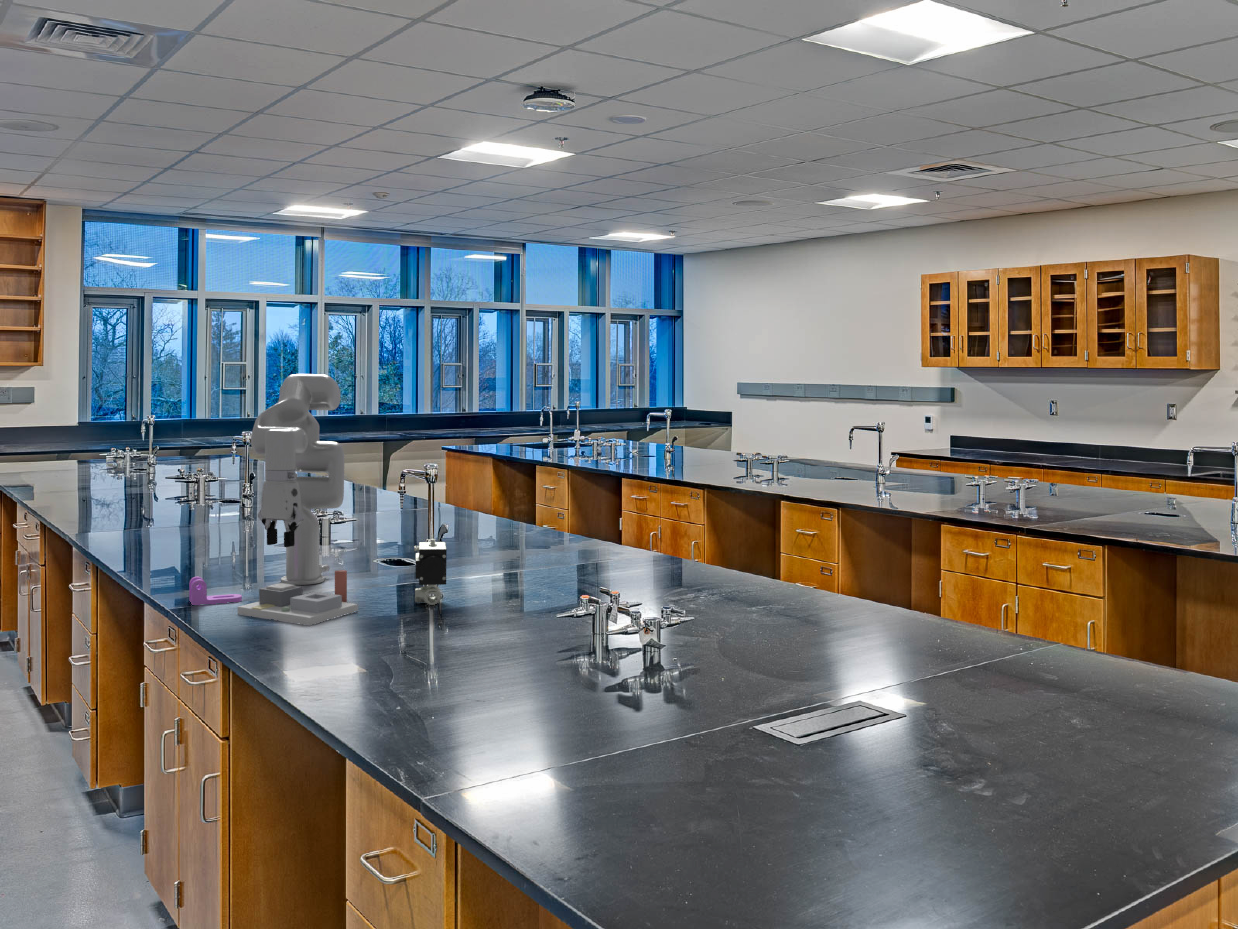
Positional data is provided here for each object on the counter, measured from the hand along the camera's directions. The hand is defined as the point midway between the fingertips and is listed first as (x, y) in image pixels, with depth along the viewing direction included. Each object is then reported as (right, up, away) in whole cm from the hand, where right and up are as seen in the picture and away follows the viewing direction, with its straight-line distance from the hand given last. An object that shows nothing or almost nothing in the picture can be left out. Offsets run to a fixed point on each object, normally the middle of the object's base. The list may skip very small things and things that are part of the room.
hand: (280, 544), depth 265 cm
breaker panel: (+5, -18, -1) cm, 18 cm away
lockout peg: (+13, -17, +11) cm, 24 cm away
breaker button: (0, -15, +1) cm, 15 cm away
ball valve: (+36, -17, +14) cm, 43 cm away
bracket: (-21, -17, +10) cm, 28 cm away
